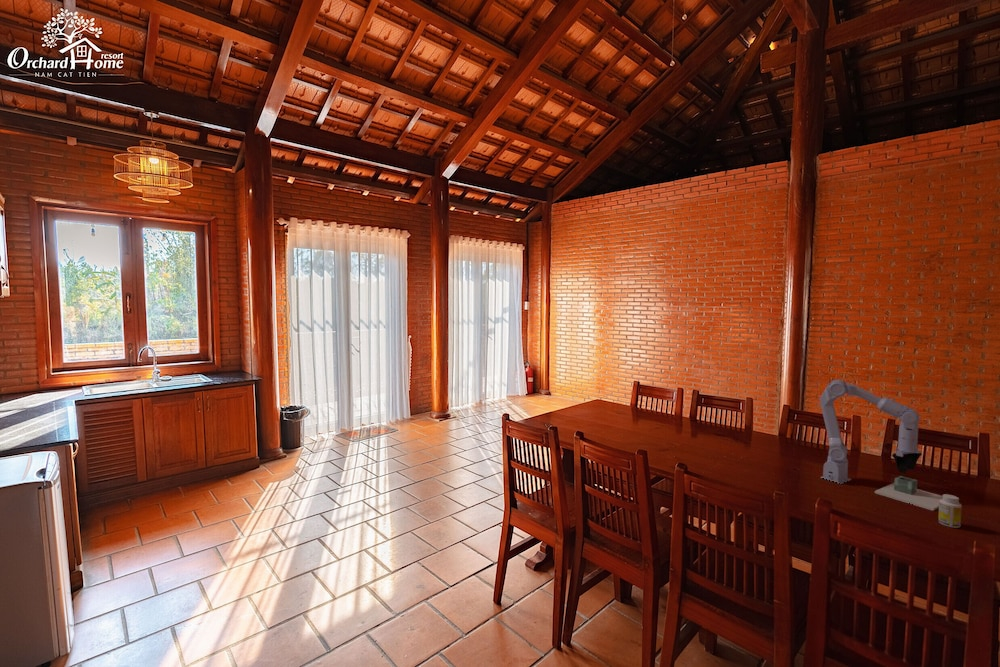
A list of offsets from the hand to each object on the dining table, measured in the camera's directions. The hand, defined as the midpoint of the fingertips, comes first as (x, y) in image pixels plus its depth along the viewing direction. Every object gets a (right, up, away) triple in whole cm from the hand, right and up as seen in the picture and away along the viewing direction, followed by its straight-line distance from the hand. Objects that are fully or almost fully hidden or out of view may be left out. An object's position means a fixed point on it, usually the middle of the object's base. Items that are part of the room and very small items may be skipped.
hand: (906, 470), depth 181 cm
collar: (0, -9, 0) cm, 9 cm away
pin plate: (0, -10, -3) cm, 10 cm away
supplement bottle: (-9, -11, -26) cm, 29 cm away
